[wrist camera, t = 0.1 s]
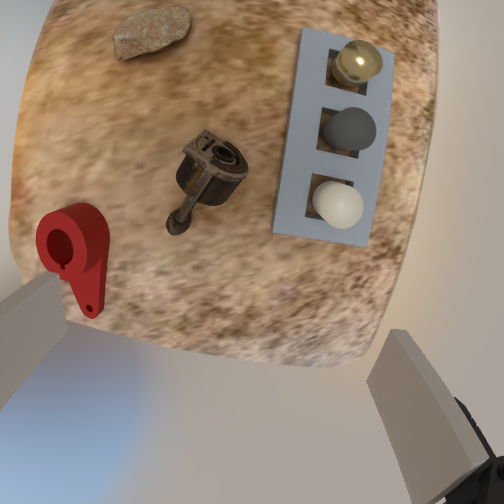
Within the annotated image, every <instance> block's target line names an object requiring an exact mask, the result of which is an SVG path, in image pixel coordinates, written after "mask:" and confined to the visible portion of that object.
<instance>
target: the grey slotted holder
mask: <svg viewBox="0 0 504 504" xmlns="http://www.w3.org/2000/svg"><path fill="white" fill-rule="evenodd" d="M353 40H355V39H351V38H348V37H344V36H341V35H337V34H333V33H329V32H325V31H320V30H316V29H311V28H306V27H303V28H302V31H301V33H300V36H299V44H298V51H297V59H296V66H295V73H294V81H293V88H292V95H291V102H290V109H289V115H288V122H287V129H286V136H285V142H284V149H283V156H282V162H281V169H280V175H279V182H278V188H277V194H276V201H275V207H274V213H273V219H272V225H271V228H272V233H278V234H285V235H292V236H299V237H305V238H312V239H318V240H325V241H331V242H337V243H344V244H350V245H356V246H362V247H366V246H367V242H368V238H369V234H370V230H371V225H372V221H373V216H374V212H375V207H376V202H377V197H378V192H379V187H380V181H381V176H382V170H383V164H384V158H385V151H386V144H387V137H388V129H389V121H390V111H391V101H392V89H393V74H394V53H393V52H390V51H388V50H385V49H382V48H379V47H376V46H374V45H373V46H374V47H375V48H376V49H377V50H378V51H379V52H380V54H381V56H382V59H383V67H382V70H381V72H380V73H379V74H377V75H376V76H374V77H373V78H371V79H370V80H368V81H366V82H365V83H363V84H362V85H360V89H359V94H357V93H353V92H350V91H346V90H342V89H338V88H334V87H330V86H326V85H325V80H326V71H327V63H328V57H330V58H334V59H335V58H336V56H337V55H338V54H339V53H340V52H341V50H342V49H343V48H344V47H345V46H346V44H347V43H349V42H350V41H353ZM349 107H357V108H361V109H363V110H365V111H366V112H368V113H369V114H370V115H371V117H372V118H373V120H374V122H375V125H376V138H375V140H374V142H373V143H372V145H371V146H369V147H368V148H366V149H364V150H357V151H351V157H348V156H344V155H339V154H335V153H330V152H325V151H320V150H316V146H317V139H318V132H319V125H320V118H321V112H324V113H328V114H333V115H335V114H337V113H338V112H340V111H342V110H344V109H346V108H349ZM312 173H313V174H319V175H324V176H329V177H334V178H338V179H343V180H347V181H346V185H348V186H351V187H353V188H354V189H356V190H357V191H358V192H359V194H360V195H361V197H362V200H363V205H364V208H363V213H362V216H361V218H360V219H359V221H358V222H357V223H356V224H355V225H353V226H352V227H349V228H346V229H338V228H335V227H333V226H331V225H330V224H329V223H327V222H326V221H325V220H324V219H323V218H322V217H321V216H319V215H313V214H307V213H305V212H306V206H307V200H308V195H309V189H310V183H311V177H312Z"/></svg>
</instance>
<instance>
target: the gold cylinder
mask: <svg viewBox="0 0 504 504" xmlns="http://www.w3.org/2000/svg"><path fill="white" fill-rule="evenodd" d="M382 67H383V59H382V56H381V54H380V52H379V51H378V50H377V49H376V48H375V47H374V46H373V45H372V44H370V43H368V42H366V41H363V40H353V41H350V42H349V43H347V44H346V46H345V47H344V48H343V49H342V50H341V52H340V53H339V54H338V55H337V56H336V58H335V59H334V60H333V62H332V65H331V69H332V73H333V75H334V77H335V78H336V80H337V81H338V82H340V83H341V84H343V85H345V86H347V87H358V86H360V85H362V84H363V83H365V82H366V81H368V80H370V79H371V78H373V77H374V76H376V75H377V74H379V73H380V72H381V70H382Z"/></svg>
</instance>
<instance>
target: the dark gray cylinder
mask: <svg viewBox="0 0 504 504" xmlns="http://www.w3.org/2000/svg"><path fill="white" fill-rule="evenodd" d="M323 133H324V137H325V140H326V142H327V143H328V144H329V145H330V146H331V147H332V148H334V149H336V150H338V151H357V150H364V149H366V148H368V147H369V146H371V145H372V143H373V142H374V140H375V138H376V125H375V122H374V120H373V118H372V117H371V115H370V114H369V113H368V112H366V111H365V110H363V109H361V108H357V107H349V108H346V109H344V110H342V111H340V112H338V113H337V114H335V115H333V116H331V117H330V118H328V119H327V121H326V122H325V124H324V128H323Z"/></svg>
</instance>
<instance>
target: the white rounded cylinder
mask: <svg viewBox="0 0 504 504" xmlns="http://www.w3.org/2000/svg"><path fill="white" fill-rule="evenodd" d="M312 203H313V207H314V209H315V211H316V212H317V213H318V214H319V215H320V216H321V217H322V218H323V219H324V220H325V221H326V222H327V223H329V224H330V225H331V226H333V227H335V228H338V229H346V228H349V227H352V226H353V225H355V224H356V223H357V222H358V221H359V219H360V218H361V216H362V213H363V208H364V205H363V200H362V197H361V195H360V194H359V192H358V191H357V190H356V189H354V188H353V187H351V186H348V185H345V184H342V183H339V182H335V181H326V182H323V183H321V184H320V185H319V186H318V187H317V188H316V189H315V191H314V193H313V197H312Z"/></svg>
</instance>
